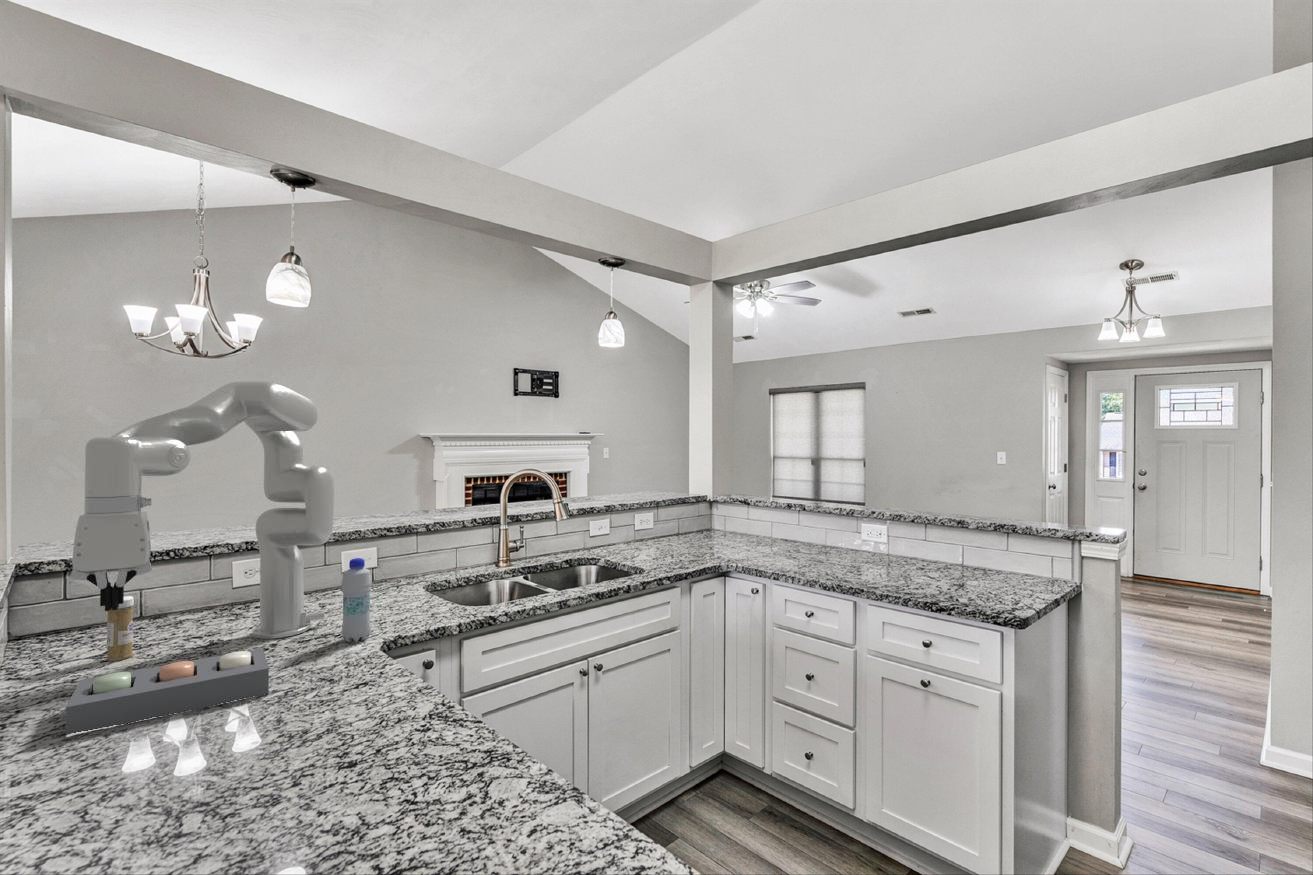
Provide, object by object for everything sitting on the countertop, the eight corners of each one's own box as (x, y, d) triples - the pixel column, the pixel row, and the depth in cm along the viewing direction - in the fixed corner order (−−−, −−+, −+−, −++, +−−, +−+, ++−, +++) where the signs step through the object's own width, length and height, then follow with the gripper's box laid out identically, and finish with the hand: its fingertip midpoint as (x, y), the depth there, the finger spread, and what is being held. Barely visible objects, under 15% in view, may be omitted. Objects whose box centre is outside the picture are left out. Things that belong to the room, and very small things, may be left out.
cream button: (249, 666, 121) (250, 649, 121) (251, 674, 117) (251, 656, 117) (219, 672, 118) (219, 654, 118) (219, 680, 114) (220, 662, 114)
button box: (262, 671, 126) (263, 648, 126) (268, 694, 115) (268, 668, 115) (79, 707, 109) (80, 679, 109) (65, 737, 98) (65, 707, 98)
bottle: (377, 636, 149) (378, 556, 149) (356, 645, 143) (356, 561, 143) (356, 633, 151) (357, 554, 151) (334, 642, 145) (334, 559, 145)
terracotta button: (193, 677, 115) (193, 659, 115) (193, 685, 111) (193, 666, 111) (160, 683, 112) (160, 664, 112) (158, 692, 108) (158, 673, 108)
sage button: (132, 688, 110) (132, 669, 110) (129, 698, 106) (129, 678, 106) (95, 695, 107) (95, 676, 107) (90, 705, 103) (91, 685, 103)
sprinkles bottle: (131, 658, 133) (131, 598, 133) (103, 663, 131) (104, 601, 131) (135, 652, 137) (135, 594, 137) (108, 656, 135) (108, 597, 135)
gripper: (168, 502, 114) (167, 598, 114) (59, 507, 105) (57, 611, 105) (166, 505, 108) (165, 606, 108) (50, 510, 99) (48, 621, 99)
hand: (111, 608), depth 106 cm, fingers closed
